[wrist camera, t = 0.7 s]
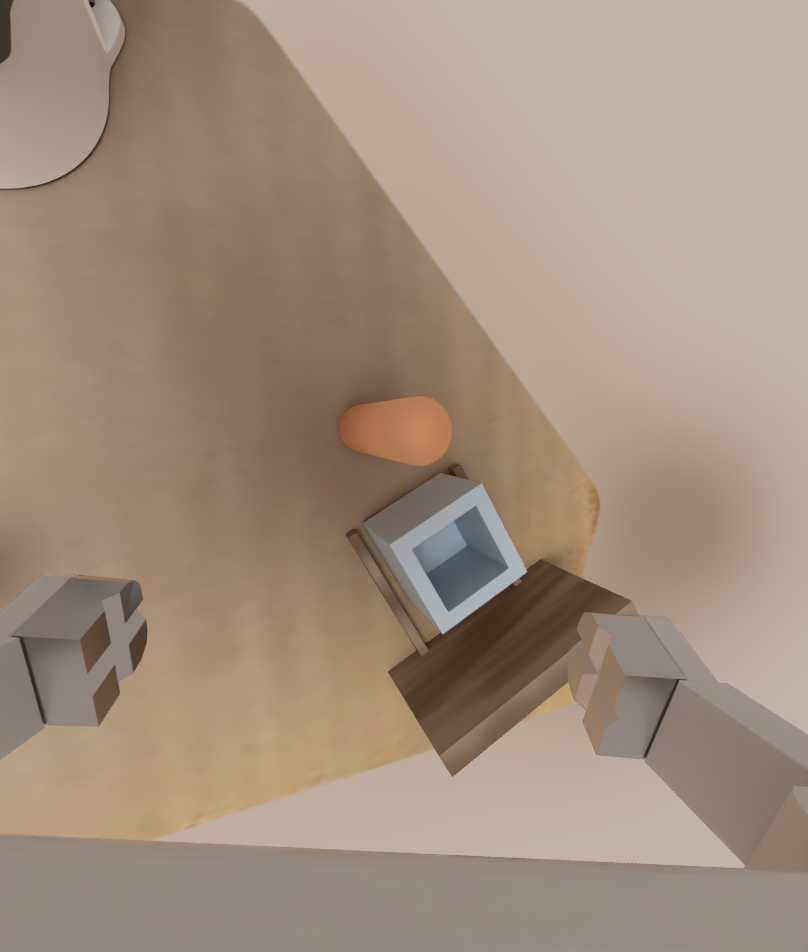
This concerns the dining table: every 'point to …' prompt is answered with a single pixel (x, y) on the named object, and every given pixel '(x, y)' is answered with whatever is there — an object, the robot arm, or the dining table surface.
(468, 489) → the socket block
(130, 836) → the dining table surface
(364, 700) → the dining table surface
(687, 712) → the robot arm
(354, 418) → the dowel
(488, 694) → the backstop wall
